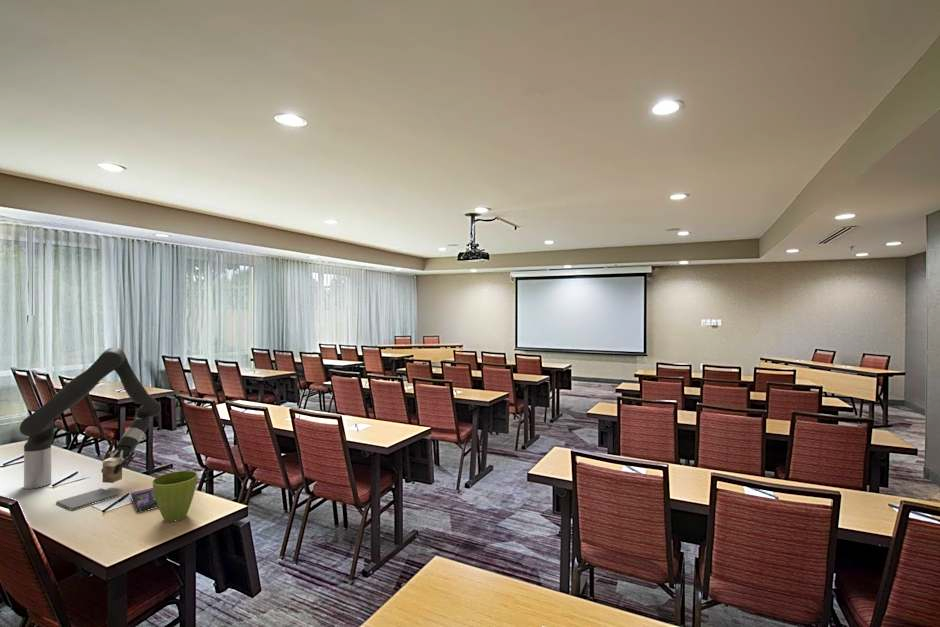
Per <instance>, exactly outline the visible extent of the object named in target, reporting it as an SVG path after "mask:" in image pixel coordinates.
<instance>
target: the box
mask: <svg viewBox="0 0 940 627" xmlns="http://www.w3.org/2000/svg"><path fill="white" fill-rule="evenodd" d="M130 494H131V495H130V496H131V497H132V499H133V501H132V503H133V502H134V503H133V505H135V506H134V508H135V507H136V508H135V510H136V509H137V510H136V513H138V512H139V513H142V512H141V511H143V512H146V511H145V510H147V511H149V510H148V509H151V508H155V507H158V505H157V502H156V498H155V494H154V489H153V487H150V488H147V489H142V490H138V491H134V492H133V491H132V492H131V493H130ZM132 499H131V500H132ZM155 509H156V508H155ZM151 510H152V509H151Z"/></svg>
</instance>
